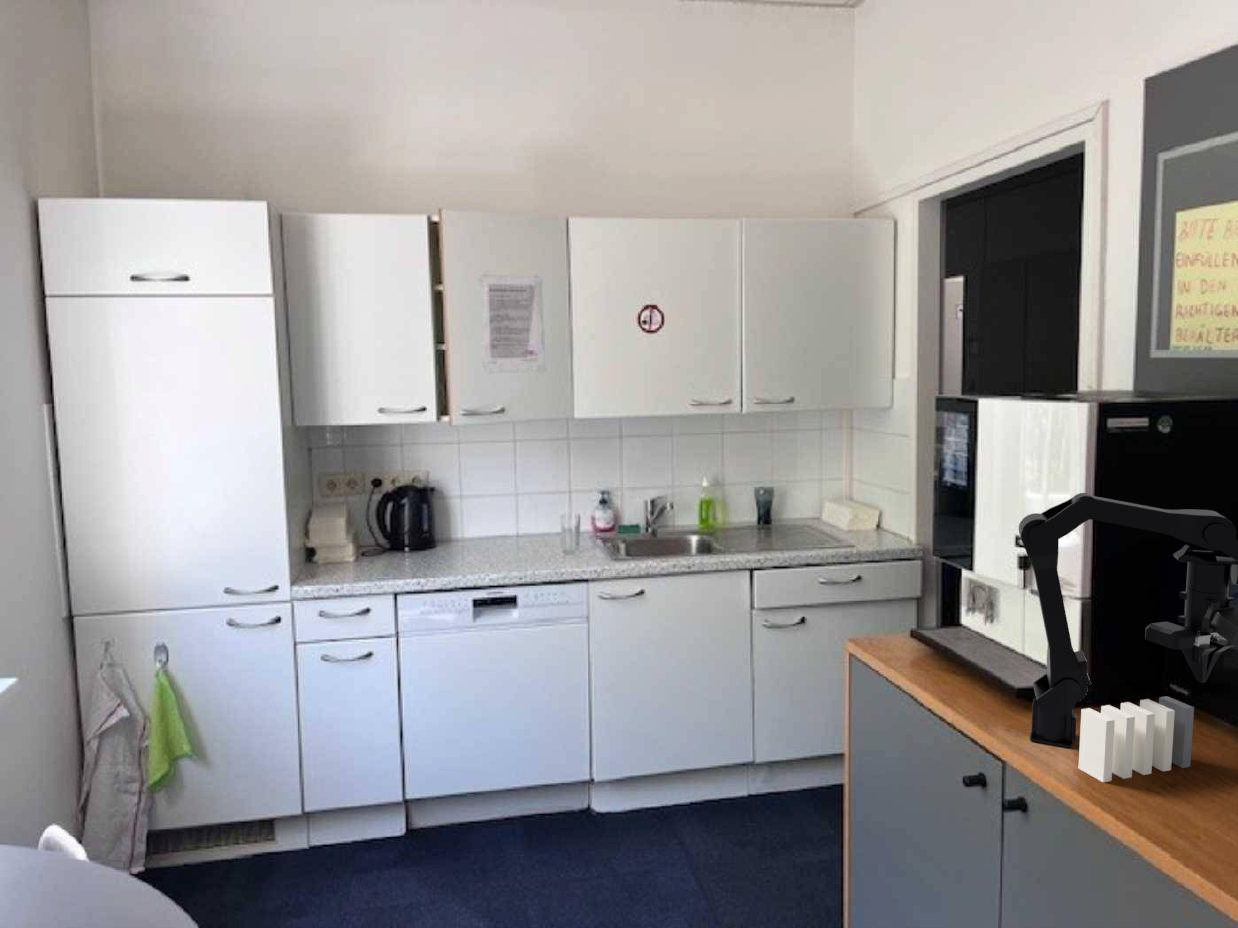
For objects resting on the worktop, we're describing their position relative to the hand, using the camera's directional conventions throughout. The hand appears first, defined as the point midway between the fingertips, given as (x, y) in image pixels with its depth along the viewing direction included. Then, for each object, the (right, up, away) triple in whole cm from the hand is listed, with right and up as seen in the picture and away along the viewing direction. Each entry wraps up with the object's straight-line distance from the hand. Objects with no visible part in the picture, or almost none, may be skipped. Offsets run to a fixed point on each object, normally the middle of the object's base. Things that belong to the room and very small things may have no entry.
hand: (1201, 681), depth 144 cm
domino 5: (-5, -13, 0) cm, 14 cm away
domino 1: (-20, -14, -4) cm, 24 cm away
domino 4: (-8, -13, -1) cm, 16 cm away
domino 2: (-16, -14, -3) cm, 21 cm away
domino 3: (-12, -13, -2) cm, 18 cm away
